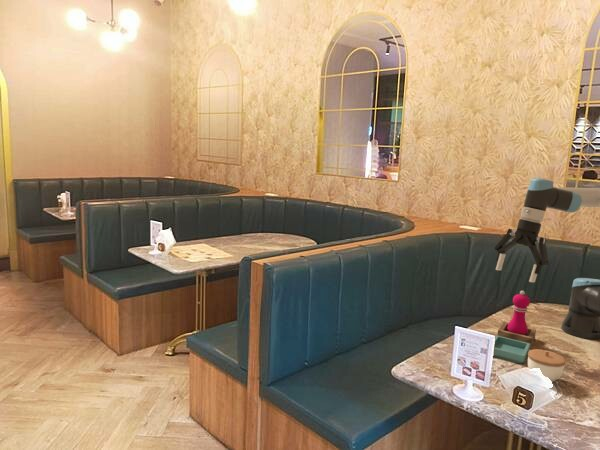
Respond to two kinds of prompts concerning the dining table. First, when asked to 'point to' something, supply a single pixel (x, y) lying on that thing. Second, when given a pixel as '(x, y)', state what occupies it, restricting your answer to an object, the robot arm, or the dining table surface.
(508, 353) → the teal tray
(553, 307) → the dining table surface
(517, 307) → the pepper mill
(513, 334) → the walnut holder
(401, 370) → the dining table surface
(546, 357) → the lidded jar
